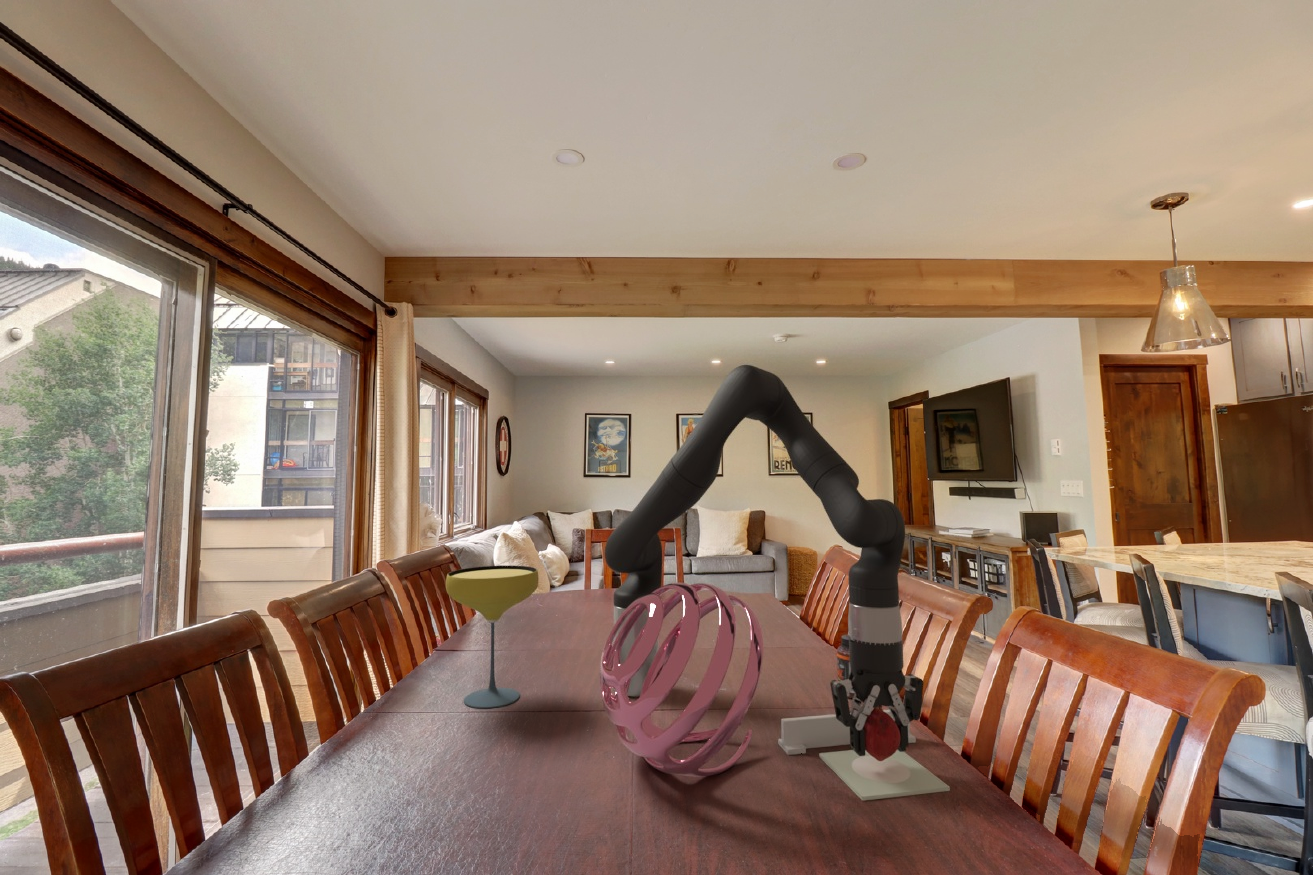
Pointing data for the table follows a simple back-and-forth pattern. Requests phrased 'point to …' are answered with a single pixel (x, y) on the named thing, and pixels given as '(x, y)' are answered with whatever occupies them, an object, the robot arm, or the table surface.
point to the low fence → (817, 733)
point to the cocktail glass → (492, 612)
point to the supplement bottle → (844, 662)
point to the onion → (881, 734)
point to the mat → (882, 775)
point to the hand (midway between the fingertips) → (879, 751)
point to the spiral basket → (668, 671)
